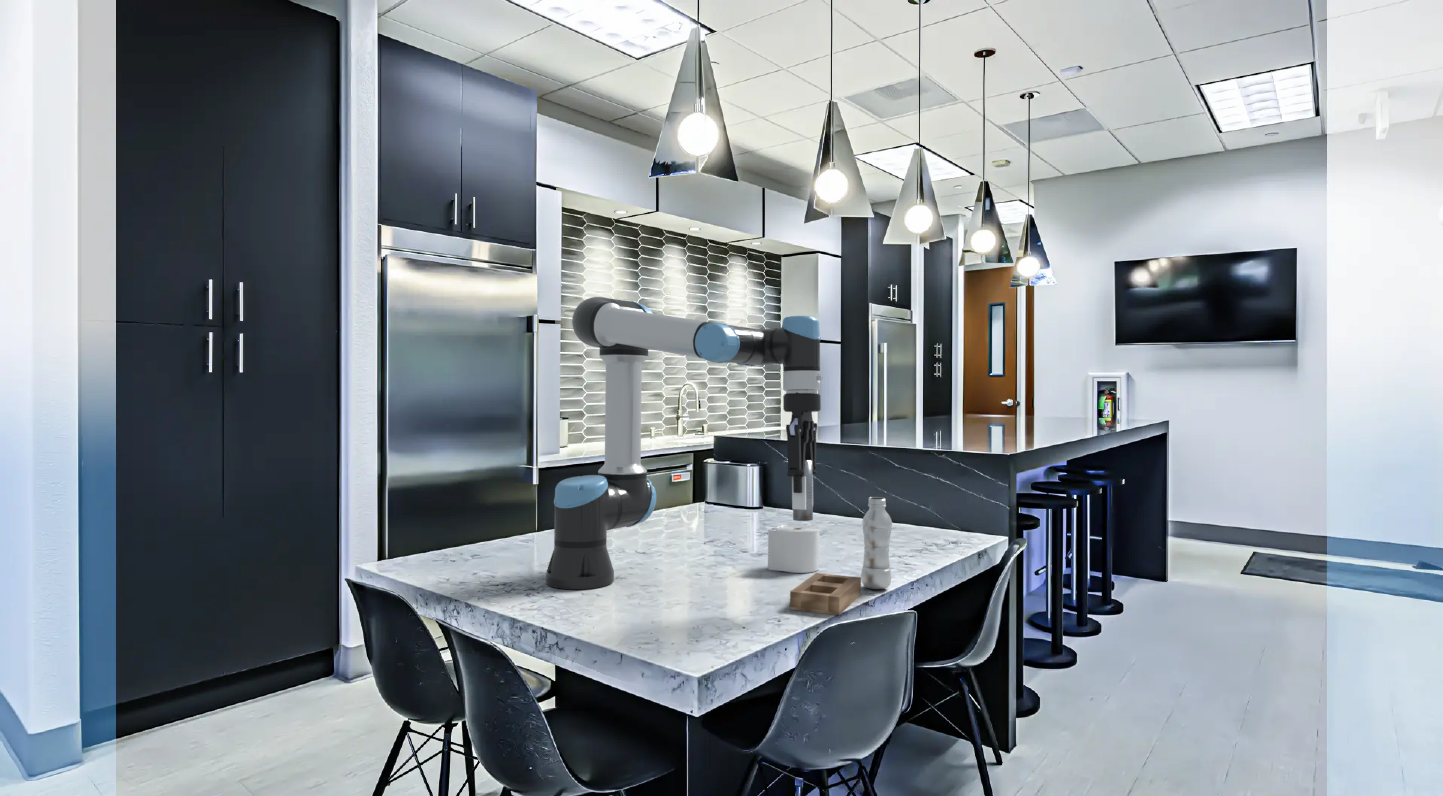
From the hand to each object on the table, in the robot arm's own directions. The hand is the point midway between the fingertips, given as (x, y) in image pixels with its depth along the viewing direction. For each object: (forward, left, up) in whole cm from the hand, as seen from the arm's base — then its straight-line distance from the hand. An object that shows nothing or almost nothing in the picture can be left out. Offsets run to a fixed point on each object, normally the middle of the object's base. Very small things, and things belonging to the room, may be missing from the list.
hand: (802, 507), depth 158 cm
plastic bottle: (+11, +20, -20) cm, 30 cm away
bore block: (+4, +5, -20) cm, 21 cm away
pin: (0, 0, -2) cm, 2 cm away
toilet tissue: (-11, +31, -20) cm, 38 cm away
